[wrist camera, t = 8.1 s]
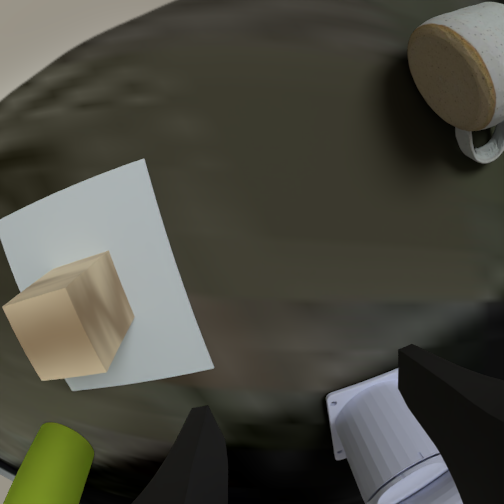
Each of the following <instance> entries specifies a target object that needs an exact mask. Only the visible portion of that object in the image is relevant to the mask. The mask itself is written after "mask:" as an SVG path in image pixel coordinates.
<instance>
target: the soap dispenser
mask: <svg viewBox="0 0 504 504" xmlns="http://www.w3.org/2000/svg"><path fill="white" fill-rule="evenodd" d="M93 458H94V450H93V448H92V446H91V445H90V444H89V442H88V441H87V440H86V439H85V438H84V437H82V436H81V435H80V434H78V433H77V432H75V431H74V430H72V429H70V428H68V427H66V426H64V425H61V424H58V423H51V422H50V423H45V424H43V425H42V426H41V428H40V430H39V432H38V433H37V435H36V437H35V439H34V441H33V443H32V445H31V447H30V449H29V450H28V452H27V454H26V456H25V458H24V460H23V462H22V464H21V466H20V468H19V470H18V472H17V475H16V477H15V479H14V481H13V483H12V485H11V487H10V489H9V492H8V494H7V496H6V498H5V501H4V503H3V504H79V501H80V498H81V495H82V492H83V488H84V485H85V482H86V479H87V476H88V473H89V470H90V467H91V464H92V461H93Z"/></svg>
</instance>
